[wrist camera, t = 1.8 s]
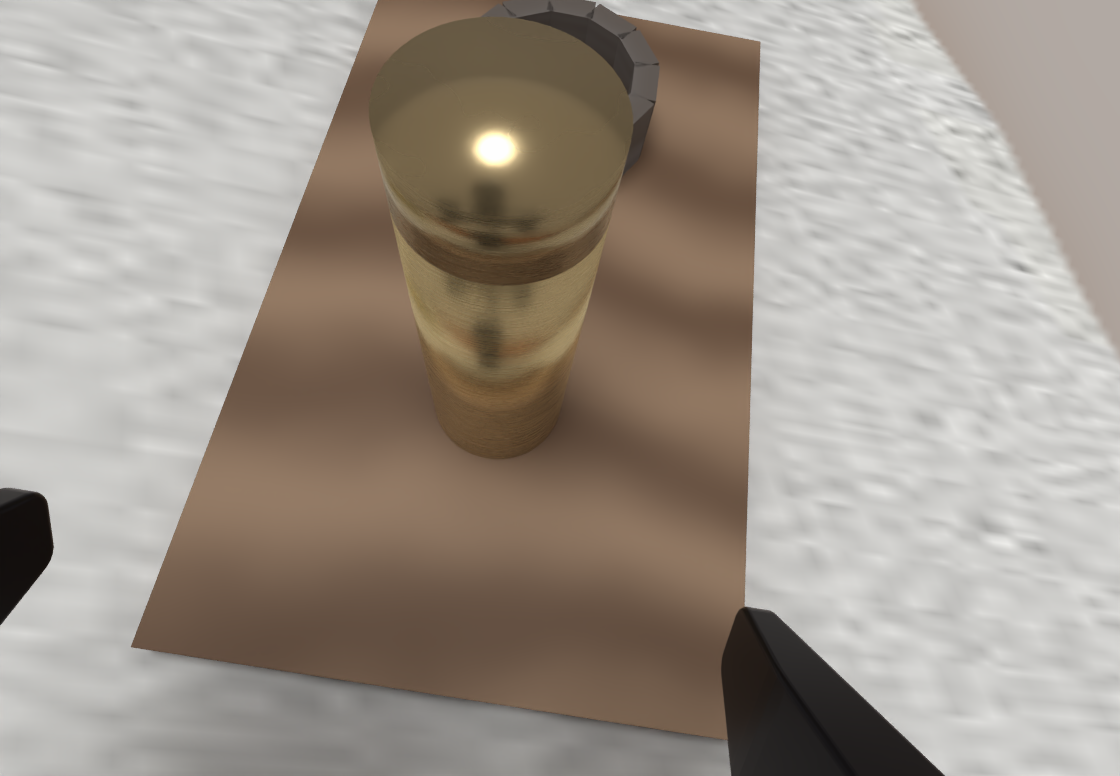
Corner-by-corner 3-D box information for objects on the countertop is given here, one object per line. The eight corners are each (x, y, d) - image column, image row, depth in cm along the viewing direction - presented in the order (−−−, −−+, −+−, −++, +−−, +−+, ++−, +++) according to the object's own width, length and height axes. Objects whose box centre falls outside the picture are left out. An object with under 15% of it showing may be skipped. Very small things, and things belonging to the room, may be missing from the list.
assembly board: (727, 737, 20) (781, 755, 16) (151, 647, 20) (68, 644, 16) (751, 62, 32) (786, -19, 28) (392, -5, 32) (378, -97, 28)
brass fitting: (586, 399, 23) (684, 118, 11) (498, 485, 22) (502, 266, 10) (498, 320, 24) (504, -18, 12) (408, 398, 22) (311, 99, 11)
